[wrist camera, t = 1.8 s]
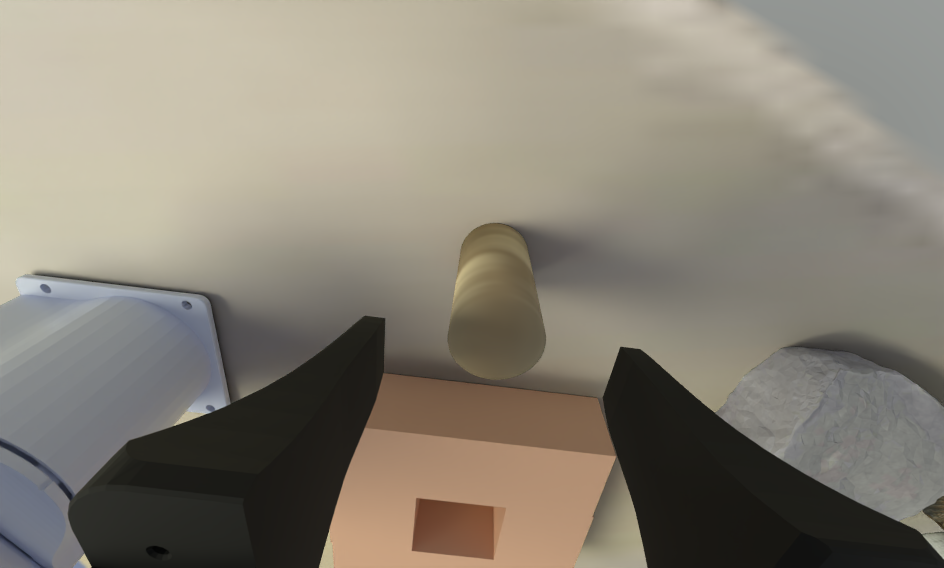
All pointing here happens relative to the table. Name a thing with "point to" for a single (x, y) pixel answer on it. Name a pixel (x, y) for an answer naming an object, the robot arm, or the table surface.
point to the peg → (495, 306)
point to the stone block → (845, 426)
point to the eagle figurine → (940, 513)
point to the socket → (471, 478)
